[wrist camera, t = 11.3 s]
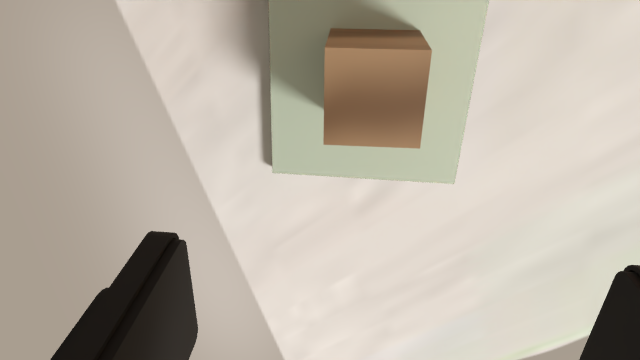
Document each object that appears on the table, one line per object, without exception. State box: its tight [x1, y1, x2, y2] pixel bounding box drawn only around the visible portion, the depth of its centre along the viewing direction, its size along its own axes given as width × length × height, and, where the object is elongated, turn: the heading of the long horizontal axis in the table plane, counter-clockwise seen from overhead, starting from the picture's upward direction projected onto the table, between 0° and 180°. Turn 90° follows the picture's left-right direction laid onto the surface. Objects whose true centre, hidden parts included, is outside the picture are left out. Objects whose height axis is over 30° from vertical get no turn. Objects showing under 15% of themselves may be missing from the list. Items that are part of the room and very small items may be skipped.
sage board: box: [268, 0, 489, 184], centre depth 28 cm, size 14×12×1 cm
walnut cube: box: [323, 28, 432, 149], centre depth 25 cm, size 5×5×5 cm
